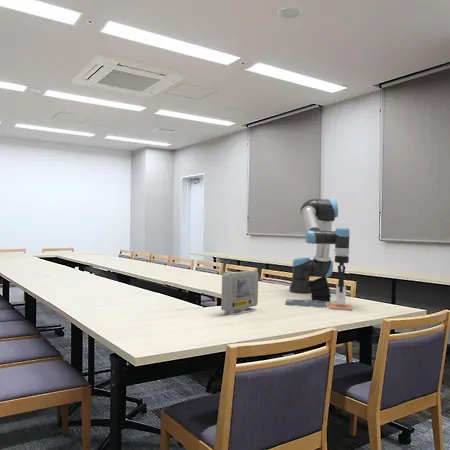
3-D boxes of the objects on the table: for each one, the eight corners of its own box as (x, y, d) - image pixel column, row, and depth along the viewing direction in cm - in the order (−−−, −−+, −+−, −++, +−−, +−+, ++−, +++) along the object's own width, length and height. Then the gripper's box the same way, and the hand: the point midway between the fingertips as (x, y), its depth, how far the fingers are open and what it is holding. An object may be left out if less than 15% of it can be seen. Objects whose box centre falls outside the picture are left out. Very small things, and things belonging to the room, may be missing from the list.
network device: (248, 307, 230) (249, 270, 230) (261, 309, 224) (262, 271, 225) (217, 313, 210) (218, 273, 210) (231, 316, 205) (232, 274, 205)
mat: (329, 304, 246) (329, 303, 246) (351, 306, 243) (351, 304, 243) (329, 308, 232) (329, 307, 232) (352, 310, 230) (352, 309, 230)
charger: (335, 302, 240) (336, 284, 240) (345, 303, 239) (345, 285, 239) (335, 303, 236) (336, 285, 236) (345, 304, 235) (345, 286, 235)
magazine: (334, 299, 254) (324, 276, 257) (314, 307, 259) (304, 283, 262) (335, 298, 258) (325, 275, 260) (315, 306, 263) (306, 283, 265)
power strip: (286, 302, 249) (286, 298, 249) (325, 305, 243) (325, 301, 243) (285, 304, 241) (285, 300, 241) (325, 307, 236) (325, 303, 236)
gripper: (334, 254, 247) (333, 295, 247) (335, 256, 231) (333, 299, 230) (348, 255, 245) (347, 296, 245) (349, 256, 229) (348, 300, 229)
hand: (340, 297), depth 238 cm, fingers closed on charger, 4 cm apart
